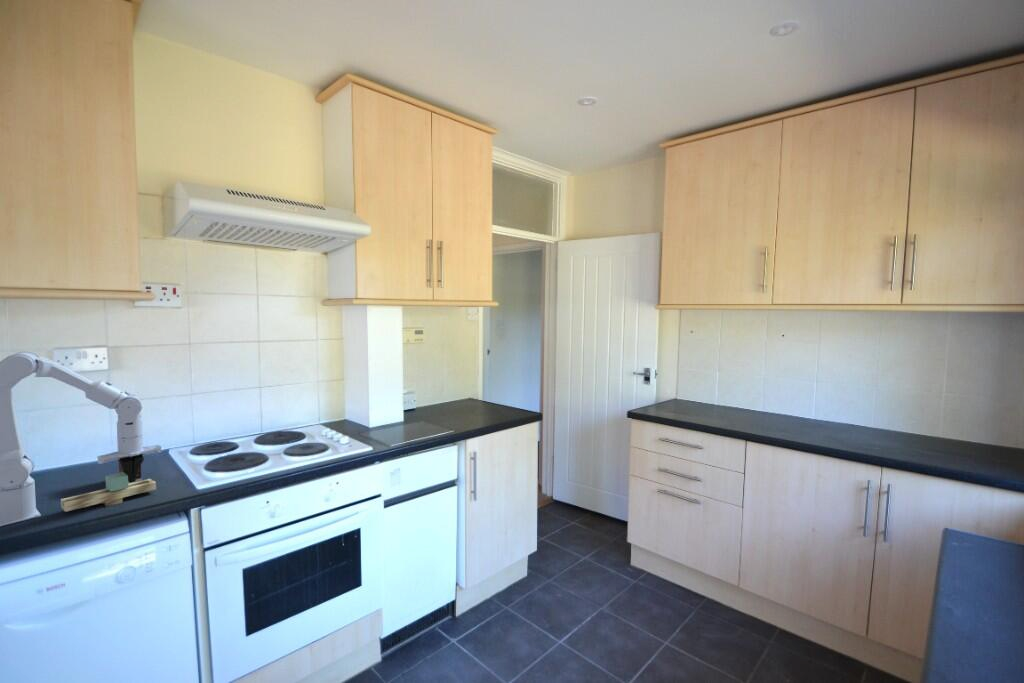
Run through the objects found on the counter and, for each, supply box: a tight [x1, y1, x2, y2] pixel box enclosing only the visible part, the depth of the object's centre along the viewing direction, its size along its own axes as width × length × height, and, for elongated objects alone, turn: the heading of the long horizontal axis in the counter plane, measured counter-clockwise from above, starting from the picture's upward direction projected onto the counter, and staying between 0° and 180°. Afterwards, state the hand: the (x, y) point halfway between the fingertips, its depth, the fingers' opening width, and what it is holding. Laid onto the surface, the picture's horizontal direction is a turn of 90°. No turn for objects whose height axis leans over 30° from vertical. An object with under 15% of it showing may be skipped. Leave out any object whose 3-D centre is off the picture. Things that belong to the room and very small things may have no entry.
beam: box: [60, 478, 157, 513], centre depth 132 cm, size 20×6×4 cm, turn 144°
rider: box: [105, 472, 129, 492], centre depth 133 cm, size 4×5×5 cm
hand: (131, 481), depth 136 cm, fingers closed
